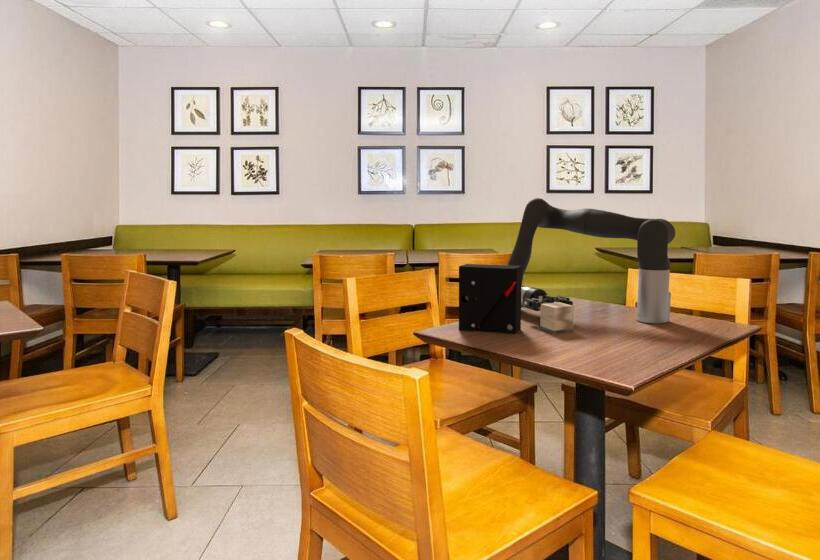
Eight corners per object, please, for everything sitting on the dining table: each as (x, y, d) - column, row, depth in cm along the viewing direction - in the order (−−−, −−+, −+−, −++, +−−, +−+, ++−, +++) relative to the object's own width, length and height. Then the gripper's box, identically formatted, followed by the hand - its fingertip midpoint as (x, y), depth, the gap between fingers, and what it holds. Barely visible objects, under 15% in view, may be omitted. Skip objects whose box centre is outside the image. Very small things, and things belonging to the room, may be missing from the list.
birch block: (558, 327, 174) (559, 302, 173) (573, 331, 168) (573, 305, 167) (540, 329, 172) (540, 303, 170) (553, 334, 165) (554, 307, 164)
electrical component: (522, 328, 172) (523, 265, 170) (514, 336, 163) (515, 268, 160) (468, 324, 180) (469, 263, 177) (458, 330, 170) (458, 266, 168)
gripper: (513, 288, 186) (542, 295, 171) (549, 285, 191) (579, 292, 176) (513, 310, 187) (541, 319, 172) (548, 307, 192) (578, 315, 177)
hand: (560, 306), depth 174 cm, fingers open, 8 cm apart
